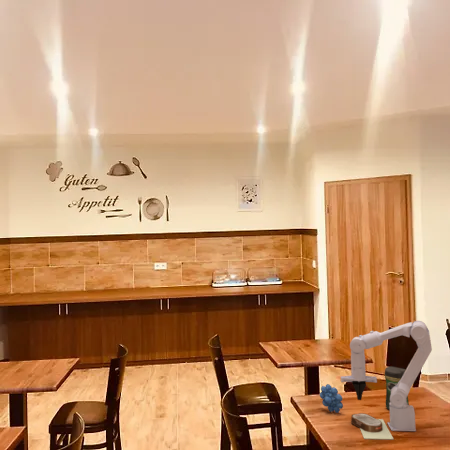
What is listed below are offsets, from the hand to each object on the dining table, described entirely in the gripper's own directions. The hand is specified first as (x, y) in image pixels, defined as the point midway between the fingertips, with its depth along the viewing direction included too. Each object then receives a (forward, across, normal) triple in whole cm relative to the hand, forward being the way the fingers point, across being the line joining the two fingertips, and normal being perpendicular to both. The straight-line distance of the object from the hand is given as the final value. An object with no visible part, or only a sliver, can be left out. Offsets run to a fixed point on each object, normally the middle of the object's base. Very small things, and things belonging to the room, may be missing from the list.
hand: (359, 399), depth 205 cm
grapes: (+10, +11, -12) cm, 19 cm away
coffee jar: (+10, -19, -17) cm, 27 cm away
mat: (+10, -4, +6) cm, 12 cm away
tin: (+8, +2, +5) cm, 10 cm away
